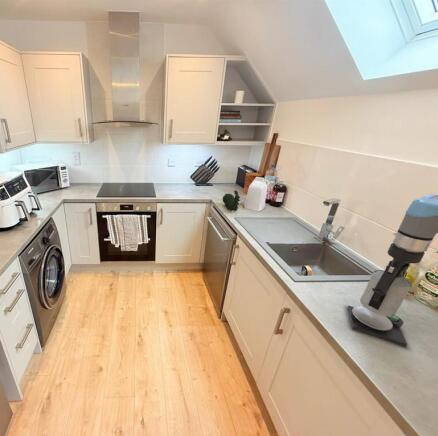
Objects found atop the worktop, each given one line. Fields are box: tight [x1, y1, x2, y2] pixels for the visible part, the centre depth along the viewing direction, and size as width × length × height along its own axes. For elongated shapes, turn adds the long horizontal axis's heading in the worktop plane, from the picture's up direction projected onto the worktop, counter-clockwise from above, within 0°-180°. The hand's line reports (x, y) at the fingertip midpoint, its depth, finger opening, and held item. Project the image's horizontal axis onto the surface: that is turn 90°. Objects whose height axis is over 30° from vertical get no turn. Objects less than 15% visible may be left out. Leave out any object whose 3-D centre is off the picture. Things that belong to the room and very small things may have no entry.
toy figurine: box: [222, 189, 241, 212], centre depth 193 cm, size 9×19×25 cm
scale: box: [347, 305, 408, 348], centre depth 86 cm, size 15×13×3 cm
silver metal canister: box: [359, 269, 413, 317], centre depth 81 cm, size 10×10×12 cm
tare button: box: [388, 314, 400, 322], centre depth 86 cm, size 3×3×1 cm
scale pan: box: [352, 305, 393, 331], centre depth 86 cm, size 11×11×1 cm
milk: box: [243, 176, 268, 212], centre depth 192 cm, size 12×12×26 cm
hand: (379, 301), depth 83 cm, fingers closed on silver metal canister, 9 cm apart
